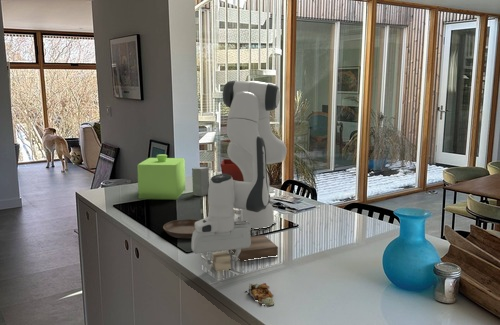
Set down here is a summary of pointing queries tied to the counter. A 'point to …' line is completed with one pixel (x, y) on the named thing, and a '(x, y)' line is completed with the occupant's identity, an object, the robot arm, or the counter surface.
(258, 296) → the pastry
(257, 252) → the walnut base
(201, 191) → the skincare box
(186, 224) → the plant saucer
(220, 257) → the maple cube
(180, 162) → the canister
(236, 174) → the plant pot
